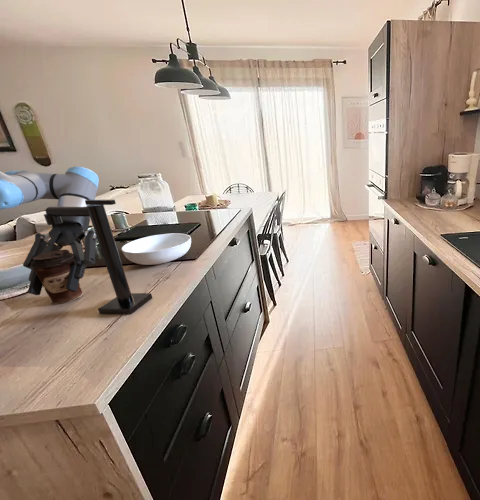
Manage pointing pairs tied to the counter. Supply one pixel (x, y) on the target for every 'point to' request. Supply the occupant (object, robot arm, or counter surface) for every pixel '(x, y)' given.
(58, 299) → the coffee cup
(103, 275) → the counter surface
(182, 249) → the serving bowl
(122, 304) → the tap
